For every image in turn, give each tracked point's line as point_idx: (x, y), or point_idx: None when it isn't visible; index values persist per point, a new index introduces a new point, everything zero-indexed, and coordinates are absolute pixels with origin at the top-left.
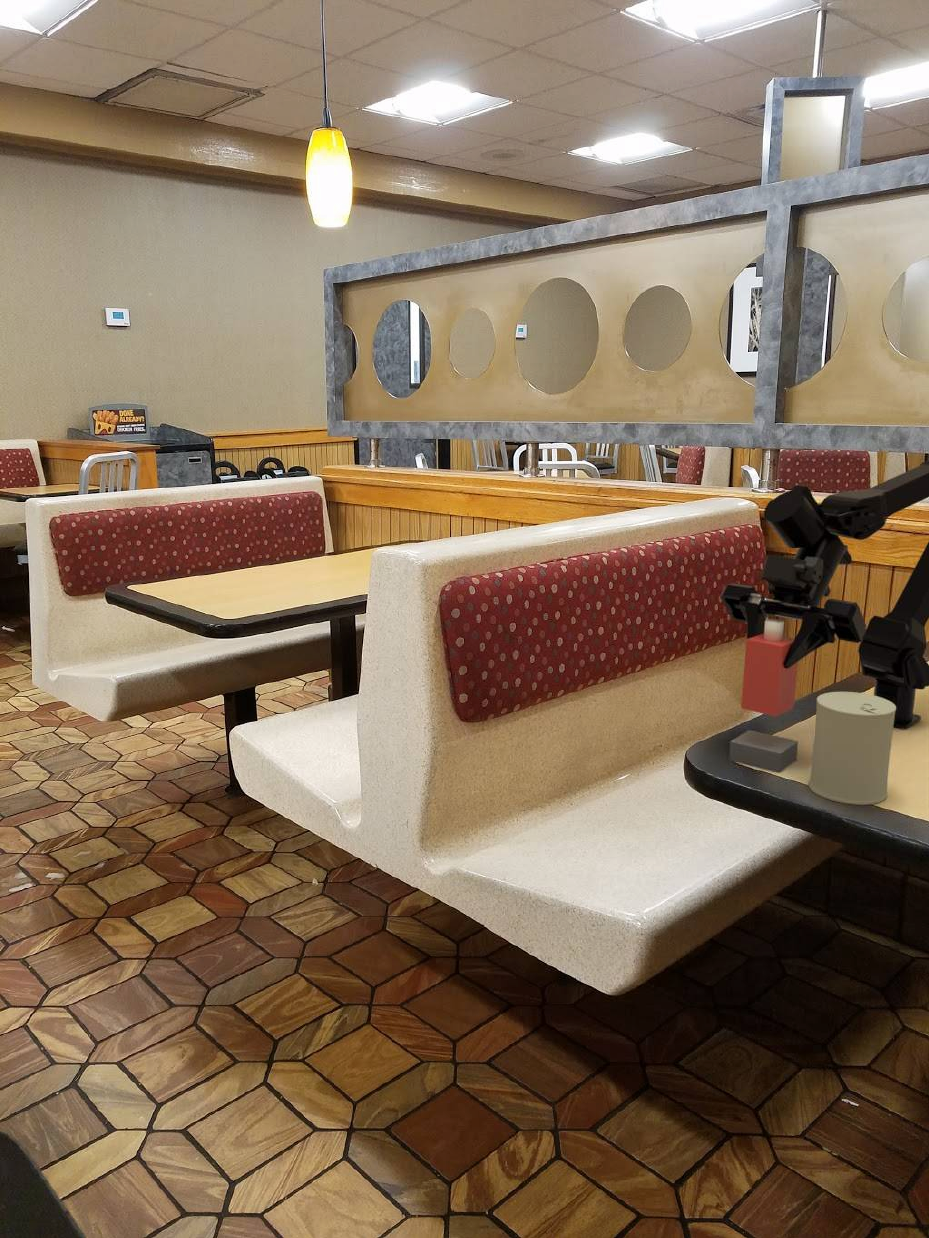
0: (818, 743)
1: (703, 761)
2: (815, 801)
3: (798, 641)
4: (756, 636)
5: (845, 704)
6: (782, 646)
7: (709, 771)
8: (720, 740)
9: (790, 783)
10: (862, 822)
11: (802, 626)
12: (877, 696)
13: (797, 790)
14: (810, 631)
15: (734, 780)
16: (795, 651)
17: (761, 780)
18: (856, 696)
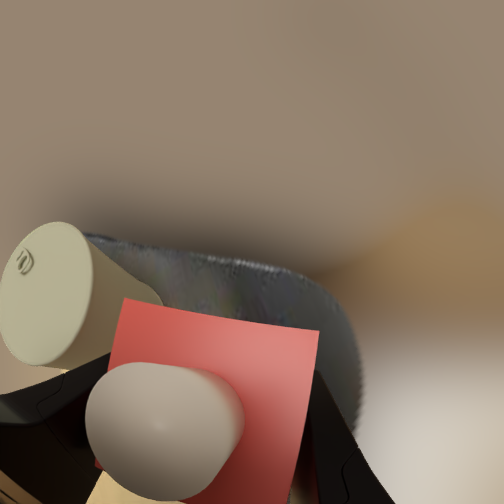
0: (123, 272)
1: (334, 317)
2: (151, 267)
3: (70, 381)
4: (295, 434)
5: (50, 270)
6: (123, 302)
7: (308, 284)
8: (348, 426)
9: (190, 309)
10: (105, 242)
11: (22, 419)
12: (11, 351)
13: (177, 290)
14: (8, 394)
15: (264, 273)
16: (98, 359)
17: (230, 296)
18: (35, 338)
